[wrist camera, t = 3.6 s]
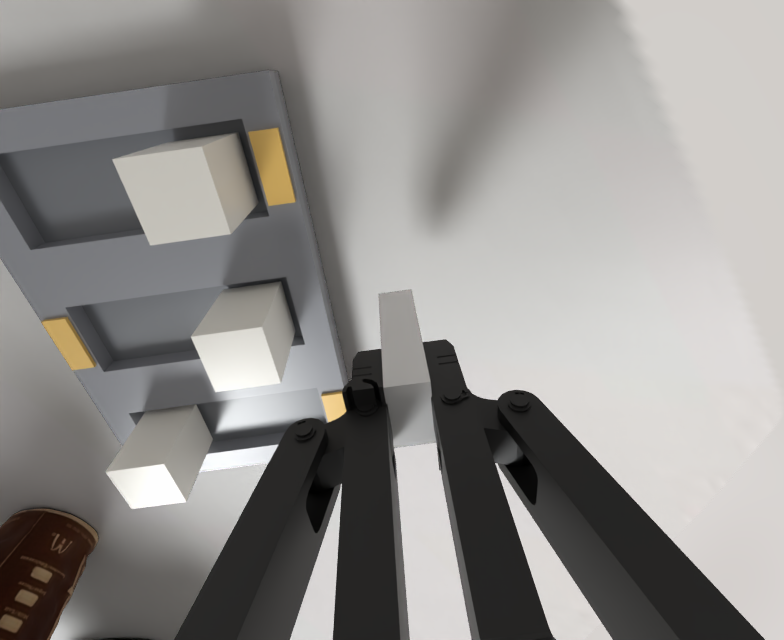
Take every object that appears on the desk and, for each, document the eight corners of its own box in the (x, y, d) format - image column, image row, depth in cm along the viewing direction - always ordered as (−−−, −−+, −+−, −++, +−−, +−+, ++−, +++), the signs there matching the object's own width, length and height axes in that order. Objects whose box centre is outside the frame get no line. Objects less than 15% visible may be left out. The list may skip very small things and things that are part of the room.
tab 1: (194, 212, 19) (150, 245, 15) (168, 142, 17) (112, 159, 14) (258, 202, 19) (230, 234, 15) (238, 132, 17) (201, 146, 14)
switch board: (157, 455, 28) (142, 482, 26) (-44, 117, 18) (-93, 122, 16) (359, 428, 28) (358, 453, 26) (277, 71, 17) (267, 69, 16)
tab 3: (241, 338, 22) (215, 392, 19) (223, 289, 21) (190, 336, 17) (295, 331, 22) (281, 383, 19) (281, 281, 21) (262, 327, 17)
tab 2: (166, 445, 26) (131, 509, 22) (146, 410, 25) (105, 471, 21) (213, 439, 26) (186, 501, 22) (195, 403, 25) (164, 464, 21)
